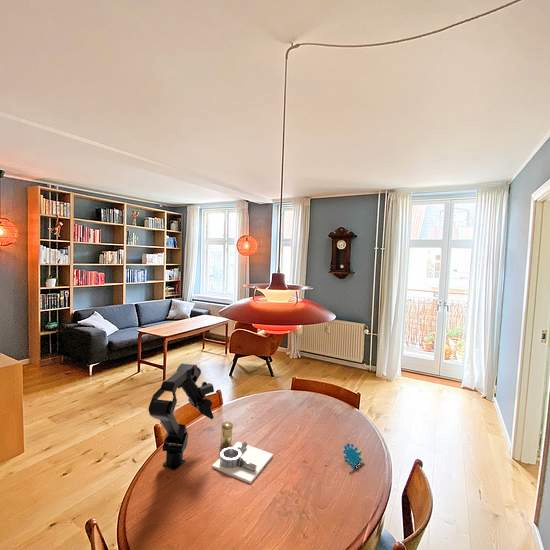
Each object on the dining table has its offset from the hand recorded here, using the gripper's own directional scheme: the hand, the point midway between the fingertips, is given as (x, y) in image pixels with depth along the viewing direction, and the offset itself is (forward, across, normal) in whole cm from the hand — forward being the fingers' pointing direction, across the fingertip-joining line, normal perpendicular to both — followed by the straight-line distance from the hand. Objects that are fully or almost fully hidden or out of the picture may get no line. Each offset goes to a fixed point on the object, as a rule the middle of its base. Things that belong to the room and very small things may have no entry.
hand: (209, 415), depth 145 cm
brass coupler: (+16, 0, +2) cm, 17 cm away
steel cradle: (+19, -14, +1) cm, 24 cm away
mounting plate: (+20, -14, +1) cm, 25 cm away
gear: (+47, -34, -34) cm, 67 cm away
